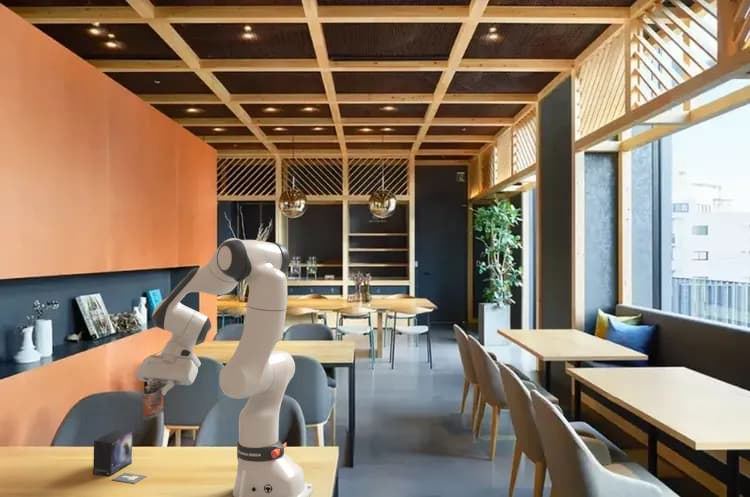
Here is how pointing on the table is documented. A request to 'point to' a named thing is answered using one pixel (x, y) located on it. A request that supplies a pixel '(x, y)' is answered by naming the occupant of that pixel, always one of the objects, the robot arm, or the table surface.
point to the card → (129, 478)
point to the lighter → (152, 401)
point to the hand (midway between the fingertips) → (154, 393)
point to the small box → (112, 452)
